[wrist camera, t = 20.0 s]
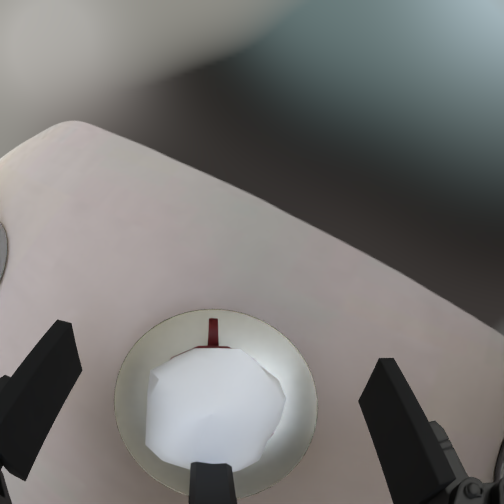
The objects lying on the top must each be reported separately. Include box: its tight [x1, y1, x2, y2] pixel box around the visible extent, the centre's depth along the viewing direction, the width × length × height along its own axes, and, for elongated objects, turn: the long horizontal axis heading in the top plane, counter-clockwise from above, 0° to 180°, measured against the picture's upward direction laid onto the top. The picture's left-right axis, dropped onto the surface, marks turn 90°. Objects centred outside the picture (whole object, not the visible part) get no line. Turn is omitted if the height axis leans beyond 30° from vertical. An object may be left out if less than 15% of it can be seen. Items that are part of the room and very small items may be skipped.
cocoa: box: [145, 318, 286, 504], centre depth 11 cm, size 10×6×12 cm, turn 158°
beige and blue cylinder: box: [114, 309, 318, 499], centre depth 20 cm, size 12×12×8 cm
